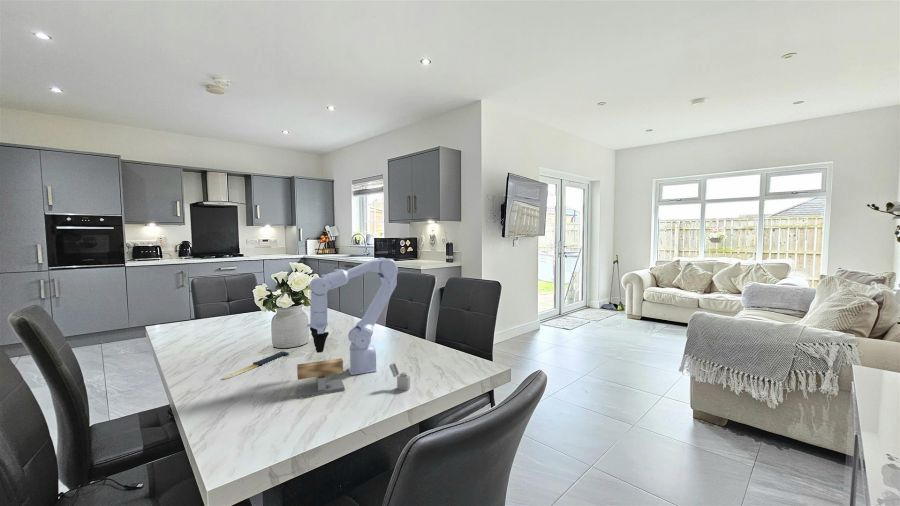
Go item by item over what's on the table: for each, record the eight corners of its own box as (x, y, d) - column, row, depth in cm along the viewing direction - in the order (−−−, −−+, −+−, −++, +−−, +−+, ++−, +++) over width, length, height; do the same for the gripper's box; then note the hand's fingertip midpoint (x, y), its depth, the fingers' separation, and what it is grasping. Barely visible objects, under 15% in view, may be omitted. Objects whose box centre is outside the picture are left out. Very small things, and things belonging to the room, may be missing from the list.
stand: (341, 381, 128) (340, 367, 128) (344, 390, 121) (344, 375, 121) (297, 388, 123) (297, 374, 122) (298, 398, 115) (298, 382, 115)
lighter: (410, 388, 122) (410, 365, 122) (407, 390, 120) (407, 366, 120) (392, 385, 125) (391, 362, 124) (389, 387, 123) (389, 363, 123)
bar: (341, 369, 126) (341, 358, 126) (343, 372, 123) (342, 361, 123) (297, 376, 120) (297, 364, 120) (297, 379, 117) (297, 367, 117)
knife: (288, 352, 158) (226, 377, 130) (288, 355, 158) (227, 382, 130) (280, 351, 160) (217, 376, 131) (281, 354, 160) (218, 380, 131)
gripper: (305, 308, 136) (305, 344, 136) (308, 316, 123) (308, 356, 123) (325, 307, 139) (325, 343, 139) (330, 314, 126) (330, 354, 126)
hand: (318, 349), depth 132 cm, fingers open, 7 cm apart
